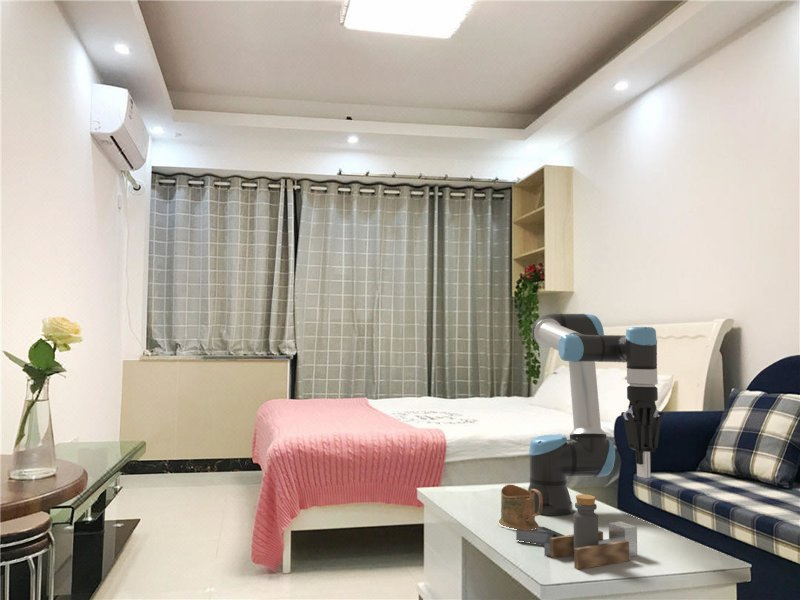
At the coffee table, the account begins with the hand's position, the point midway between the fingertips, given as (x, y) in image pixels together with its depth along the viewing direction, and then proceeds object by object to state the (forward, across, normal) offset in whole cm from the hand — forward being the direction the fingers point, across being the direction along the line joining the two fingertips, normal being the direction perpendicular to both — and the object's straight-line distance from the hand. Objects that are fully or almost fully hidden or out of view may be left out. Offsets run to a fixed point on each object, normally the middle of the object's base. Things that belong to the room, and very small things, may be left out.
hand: (643, 476), depth 160 cm
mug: (+19, +18, -28) cm, 38 cm away
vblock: (+18, +23, -12) cm, 32 cm away
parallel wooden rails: (+18, +18, 0) cm, 26 cm away
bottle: (+19, +20, 0) cm, 27 cm away
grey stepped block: (+19, +10, 0) cm, 21 cm away
